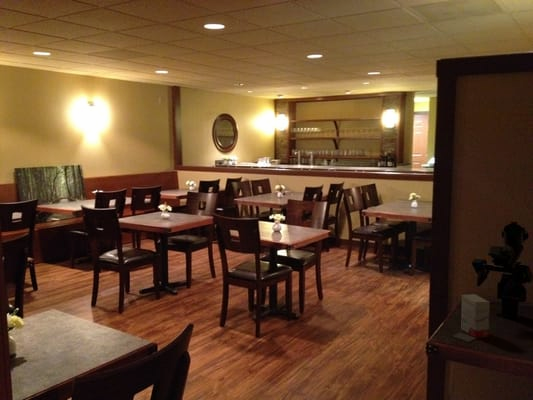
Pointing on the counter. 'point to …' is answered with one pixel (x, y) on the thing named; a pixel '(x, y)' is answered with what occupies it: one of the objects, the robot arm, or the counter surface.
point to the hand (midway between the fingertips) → (490, 288)
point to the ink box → (475, 316)
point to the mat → (464, 337)
